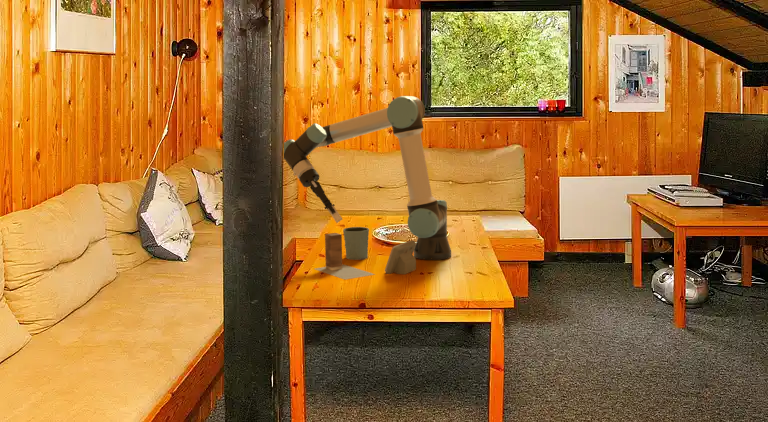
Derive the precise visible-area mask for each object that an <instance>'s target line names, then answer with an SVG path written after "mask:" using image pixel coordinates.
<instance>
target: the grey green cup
mask: <svg viewBox="0 0 768 422" xmlns="http://www.w3.org/2000/svg"><path fill="white" fill-rule="evenodd" d="M342 232H343V238H344V249H345V258H346V259H347V260H350V261H351V260H353V261H359V260H361V261H362V260H366V259H368V257H369V254H368V253H369V252H368V251H369V248H368V247H369V235H370V233H369V232H370V228H368V227H365V226H364V227H363V226H351V227H346V228H343V231H342Z"/></svg>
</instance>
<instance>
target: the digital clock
mask: <svg viewBox="0 0 768 422" xmlns="http://www.w3.org/2000/svg"><path fill="white" fill-rule="evenodd" d="M415 245H416V241H415V240H409V241H406V242H402V243H399V244H397V245H394V246H393V247H392V248H391V250H390V254H389V256H388V260H387V262H386V267H385V268H384V272H385V274H387V275H391V274H393V273H396V274H397V275H407V274H409V273H412V272H414V271H416V269H417V258H415V257H414V248H415Z"/></svg>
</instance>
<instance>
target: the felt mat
mask: <svg viewBox="0 0 768 422" xmlns="http://www.w3.org/2000/svg"><path fill="white" fill-rule="evenodd" d="M314 270H316V271H319V272H321V273H324V274H328V275H330V276H333V277H336V278H339V279H342V280H349V279H357V278H363V277H368V276H373V275H375V276H376V274H375V273H372V272H369V271H366V270H362V269H360V268H356V267H354V266H351V265H347V264H343V263H342V269H337V270H330V269H327V268H326V266H322V267H317V268H314Z"/></svg>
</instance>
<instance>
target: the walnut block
mask: <svg viewBox="0 0 768 422" xmlns="http://www.w3.org/2000/svg"><path fill="white" fill-rule="evenodd" d="M342 237H343V236H342V234H341V233H337V232H332V233H324V241H325V242H324V244H325V245H324V247H325V248H324V249H325V267H326V268H327V269H330V270H337V269H342V264H343V241H342V239H343V238H342Z"/></svg>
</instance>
